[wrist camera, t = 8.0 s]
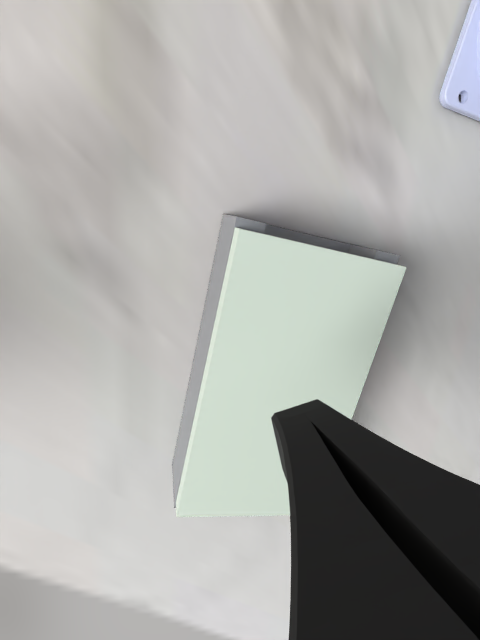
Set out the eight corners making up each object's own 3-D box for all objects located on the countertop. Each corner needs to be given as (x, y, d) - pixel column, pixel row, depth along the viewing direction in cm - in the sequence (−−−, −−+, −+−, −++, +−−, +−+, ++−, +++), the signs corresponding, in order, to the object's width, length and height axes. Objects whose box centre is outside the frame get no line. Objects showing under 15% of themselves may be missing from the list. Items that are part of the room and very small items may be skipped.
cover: (394, 264, 15) (406, 267, 14) (310, 502, 18) (316, 515, 18) (234, 227, 13) (239, 228, 12) (175, 503, 16) (176, 517, 16)
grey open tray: (362, 247, 18) (400, 255, 15) (291, 467, 21) (311, 507, 19) (223, 213, 16) (236, 216, 13) (172, 464, 19) (174, 507, 17)
